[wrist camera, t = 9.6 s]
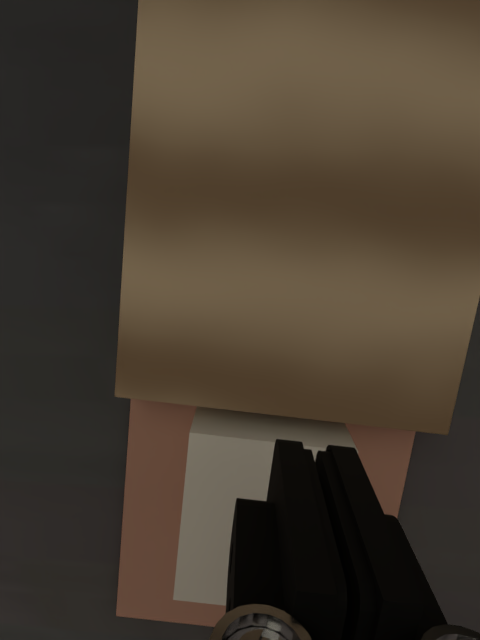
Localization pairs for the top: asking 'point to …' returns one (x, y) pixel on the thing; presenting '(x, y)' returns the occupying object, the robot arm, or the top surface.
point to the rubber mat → (167, 498)
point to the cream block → (231, 487)
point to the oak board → (303, 208)
